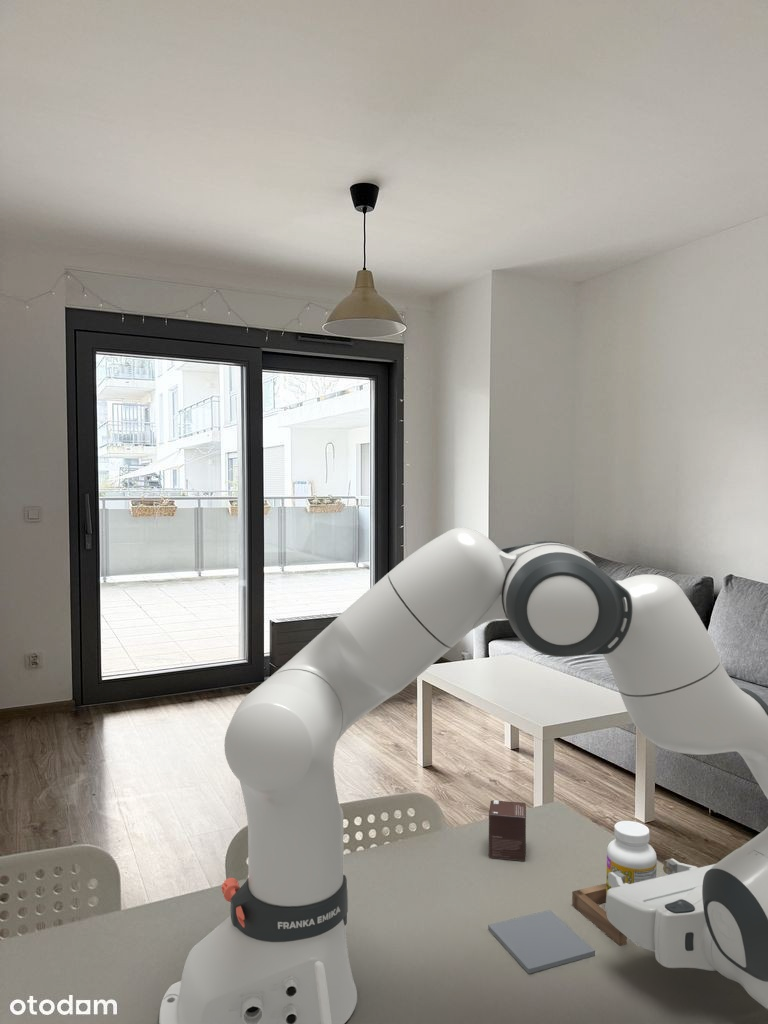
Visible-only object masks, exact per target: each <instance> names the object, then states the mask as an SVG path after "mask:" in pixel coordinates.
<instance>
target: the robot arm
mask: <svg viewBox="0 0 768 1024" xmlns="http://www.w3.org/2000/svg"><path fill="white" fill-rule="evenodd" d="M494 620H495V621H496V620H508V622H509V625H510V627H511V629H512V630H513V632H514V633H515V635H516V636H517V637H518V638H519V639H520V641H522V643H523V644H525V645H526V646H528V647H529V648H531V649H532V650H533V651H536V652H538V653H540V654H543V655H546V656H550V657H556V658H570V657H579V656H591V655H593V656H594V655H597V656H598V655H603V657H604V659H605V661H606V662H607V664H608V667H609V669H610V671H611V673H612V676H613V678H614V681H615V684H616V686H617V689H618V691H619V695H620V697H621V699H622V702H623V704H624V706H625V709H626V712H627V713H628V716H629V717H630V719H631V721H632V723H633V725H634V726H635V728H636V729H637V730H638V732H639V733H640V734H641V735H642V736H643V737H645V739H647V740H648V741H649V742H651V743H653V744H655V746H657V747H660V748H662V749H665V750H667V751H670V752H674V753H679V754H686V755H696V756H697V755H699V756H700V755H701V756H702V755H707V756H709V755H715V754H722V753H723V754H724V753H732V752H736V753H738V754H739V755H740V756H741V757H742V759H743V761H744V762H745V763H746V766H747V767H748V769H749V770H750V772H751V774H752V776H753V778H754V779H755V780H756V782H757V784H758V786H759V787H760V789H761V790H762V793H763V794H764V796H765V797H766V799H767V800H768V704H767V703H766V702H765V701H764V700H763V699H762V698H761V697H760V696H759V695H758V694H756V693H755V692H754V691H752V690H750V689H747V688H744V687H739V686H738V685H737V684H736V683H735V682H734V680H732V679H731V677H730V676H729V674H728V673H727V671H726V669H725V667H724V665H723V663H722V661H721V659H720V656H719V654H718V651H717V649H716V647H715V644H714V642H713V640H712V638H711V637H710V635H709V632H708V630H707V628H706V626H705V624H704V623H703V621H702V620H701V617H700V615H699V614H698V613H697V611H696V609H695V607H694V606H693V604H692V602H691V601H690V600H689V598H688V597H687V595H686V593H685V592H684V591H683V589H682V588H681V586H679V584H678V583H676V582H675V581H674V580H672V579H671V578H669V577H666V576H663V575H660V574H652V573H651V574H650V573H649V574H644V573H643V574H637V575H632V576H630V577H627V578H624V579H622V580H619V579H618V580H615V579H613V578H612V577H611V576H610V575H608V574H607V573H606V572H604V571H603V570H602V569H601V568H599V567H598V566H597V565H596V563H595V562H594V561H593V560H592V559H591V558H590V557H589V556H588V555H587V554H585V553H584V552H582V551H581V550H579V549H577V548H575V547H574V546H571V545H568V544H565V543H563V542H559V541H552V540H543V541H542V540H541V541H536V542H535V541H534V542H529V543H525V544H521V545H516V546H510V547H505V548H502V549H500V548H499V547H498V546H497V545H496V544H495V543H494V542H493V541H492V540H491V538H488V536H486V535H484V534H482V533H481V532H479V531H477V530H474V529H472V528H469V527H461V526H460V527H455V528H452V529H449V530H448V531H446V532H444V533H442V534H440V535H439V536H437V537H435V538H434V539H431V541H428V542H427V543H425V544H424V545H422V546H421V547H419V548H418V549H417V550H415V551H413V553H411V554H410V555H409V556H407V557H406V558H404V559H403V560H402V561H401V562H399V563H398V564H397V565H395V567H393V568H392V569H391V570H390V571H389V572H387V573H386V574H385V575H384V576H383V577H382V578H380V579H379V580H378V581H377V582H376V583H374V585H373V586H371V587H370V588H369V589H368V590H366V592H364V593H363V594H362V595H361V596H360V597H358V599H357V600H356V601H354V602H353V603H352V604H351V605H350V606H349V607H347V608H346V609H345V610H344V611H343V612H342V613H341V614H339V616H337V617H336V618H335V619H334V620H333V621H332V622H331V623H330V624H329V625H328V626H326V627H325V628H324V629H323V630H322V631H321V632H319V634H317V635H316V636H315V637H314V638H313V639H312V640H311V641H309V642H308V644H306V645H305V646H303V648H302V649H301V650H299V652H297V653H296V654H295V655H294V656H293V657H292V658H291V659H290V660H288V661H287V662H286V663H285V664H283V665H282V666H281V667H280V668H279V669H278V670H277V671H275V672H274V673H273V674H271V676H269V677H268V678H266V680H265V681H263V682H261V683H260V685H258V686H256V688H255V689H253V690H251V692H250V693H248V694H247V695H246V696H245V697H244V698H243V699H242V700H241V702H240V703H239V704H238V706H237V708H236V710H235V712H234V714H233V716H232V717H231V719H230V723H229V725H228V727H227V729H226V732H225V737H224V755H225V759H226V762H227V764H228V767H229V769H230V770H231V771H232V773H233V775H234V776H235V778H236V779H237V780H238V781H239V784H240V787H241V793H242V796H243V801H244V806H245V812H246V818H247V819H246V820H247V844H248V846H247V849H248V850H247V852H248V854H247V856H248V857H247V858H248V859H247V861H248V864H247V865H248V869H247V871H248V872H247V873H248V877H247V879H246V880H245V882H244V883H243V884H242V885H241V886H240V885H239V882H238V880H237V879H236V878H235V877H228V878H227V879H225V880H224V882H223V883H222V884H221V888H220V889H221V892H222V894H223V897H224V899H225V901H227V902H230V915H229V916H227V918H226V919H224V920H223V921H222V922H221V923H219V924H218V926H216V927H215V928H214V929H213V930H212V931H210V932H209V933H208V934H207V935H206V936H205V937H203V939H201V940H200V941H198V942H197V943H196V944H195V945H194V946H193V947H192V948H191V949H190V951H189V953H188V954H187V957H186V960H185V962H184V967H183V970H182V974H181V978H180V979H181V980H179V981H177V982H175V983H172V984H171V985H170V986H169V988H168V989H167V990H166V992H165V993H164V995H163V997H162V1001H161V1003H160V1008H159V1014H158V1017H159V1018H158V1024H345V1023H346V1022H347V1021H349V1019H350V1018H351V1016H352V1015H353V1013H354V1012H355V1009H356V1006H357V1003H358V991H357V987H356V983H355V980H354V977H353V972H352V968H351V964H350V960H349V959H350V958H349V951H348V945H347V937H346V926H347V923H348V912H349V889H348V880H347V875H345V874H344V811H343V807H342V805H340V802H339V797H338V791H337V784H336V779H335V770H334V769H335V766H334V761H335V760H334V759H335V752H336V748H337V744H338V741H339V740H340V739H341V738H342V737H343V735H344V734H345V733H346V732H347V730H349V728H351V727H352V726H353V725H354V724H356V723H357V722H358V721H359V720H361V719H362V718H363V717H365V716H366V715H367V714H368V713H370V712H372V711H373V710H374V709H376V708H377V707H379V705H381V704H383V703H384V702H385V701H387V700H388V699H390V698H391V697H393V696H395V695H396V694H399V693H400V692H402V691H403V690H404V689H405V688H406V687H408V685H410V684H411V683H412V682H414V681H415V680H416V679H417V678H418V677H419V676H420V675H421V674H423V673H424V672H425V671H426V670H428V669H429V668H430V667H431V666H432V665H433V664H435V663H436V662H437V661H438V660H439V659H440V658H442V657H443V656H444V655H445V654H446V653H447V652H449V651H450V650H451V649H452V648H454V647H455V646H456V644H458V643H459V642H460V641H461V640H462V639H463V638H465V637H466V636H467V635H468V634H469V633H470V632H471V631H472V630H475V629H476V628H478V627H480V626H481V625H483V624H485V623H487V622H490V621H491V622H492V621H494ZM662 864H663V866H662V870H663V872H664V873H665V874H666V875H663V876H658V877H657V876H656V878H653V879H649V880H645V881H640V882H636V883H632V884H628V883H624V882H625V875H623V874H622V873H620V872H619V871H615V872H610V873H608V884H609V886H611V887H612V888H610V889H609V890H608V891H607V896H606V902H605V911H606V915H607V918H608V920H609V922H610V923H611V924H612V925H613V926H614V927H616V928H617V929H618V930H619V931H620V932H621V933H623V934H624V935H625V936H626V937H627V939H629V940H630V941H631V942H632V943H634V944H636V945H637V946H639V947H640V948H643V949H645V950H647V951H651V952H654V954H655V955H654V956H655V960H656V962H658V963H659V964H660V965H661V966H663V967H664V968H667V969H681V968H682V969H683V968H684V969H698V970H705V971H708V972H709V971H712V972H715V971H717V972H718V973H719V974H721V976H724V977H725V978H727V980H731V981H733V982H736V983H738V984H739V985H740V986H742V987H743V988H744V990H745V991H746V992H747V994H748V995H749V996H750V997H751V998H752V999H754V1000H755V1002H757V1003H758V1004H760V1006H762V1007H764V1009H766V1010H768V826H767V827H766V828H765V829H764V830H762V831H761V832H760V833H758V834H757V835H756V836H754V837H753V838H752V839H750V840H749V841H746V843H744V844H743V845H741V846H740V847H738V848H736V849H735V850H733V851H731V853H729V854H728V855H726V856H724V857H723V858H721V860H719V861H718V862H717V863H713V864H710V865H709V864H708V865H704V866H700V867H697V866H696V865H691V864H688V863H687V864H686V863H683V862H680V861H678V860H676V859H674V858H673V857H671V858H669V859H665V860H663V861H662Z"/></svg>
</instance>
